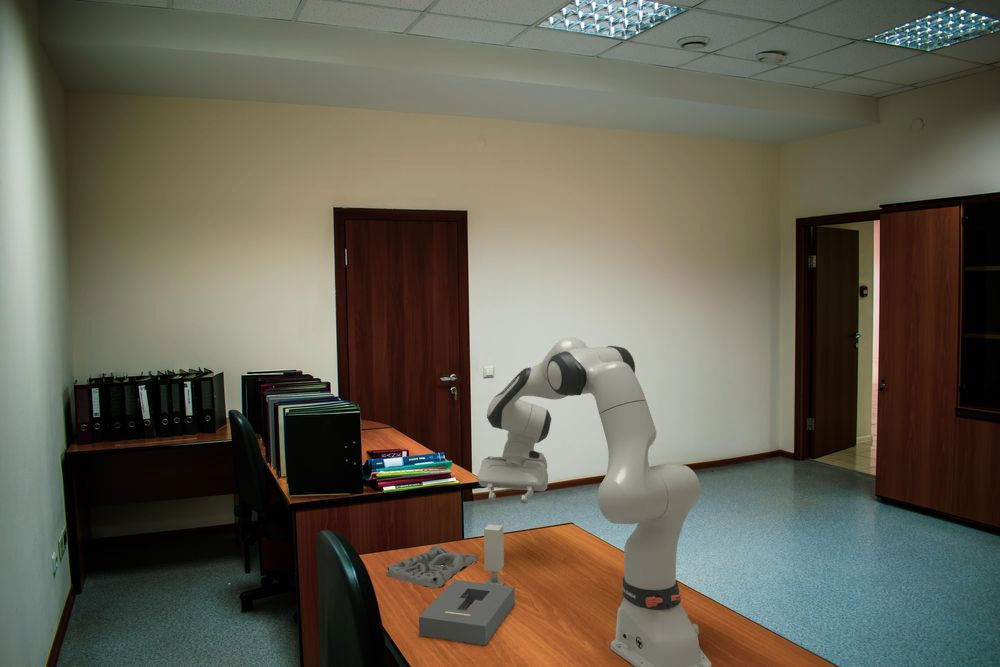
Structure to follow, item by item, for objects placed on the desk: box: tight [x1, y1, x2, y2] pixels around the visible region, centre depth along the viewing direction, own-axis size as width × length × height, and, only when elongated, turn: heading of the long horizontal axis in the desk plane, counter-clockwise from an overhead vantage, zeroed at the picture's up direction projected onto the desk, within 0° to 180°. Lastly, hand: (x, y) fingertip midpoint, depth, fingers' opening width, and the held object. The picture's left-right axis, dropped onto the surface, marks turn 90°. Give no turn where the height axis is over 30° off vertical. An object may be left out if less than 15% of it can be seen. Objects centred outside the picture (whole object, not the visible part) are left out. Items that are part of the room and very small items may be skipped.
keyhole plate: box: [418, 579, 516, 647], centre depth 169 cm, size 22×16×5 cm
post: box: [483, 523, 505, 586], centre depth 187 cm, size 4×4×16 cm
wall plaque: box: [385, 545, 479, 589], centre depth 202 cm, size 24×19×4 cm
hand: (507, 501), depth 198 cm, fingers open, 8 cm apart
